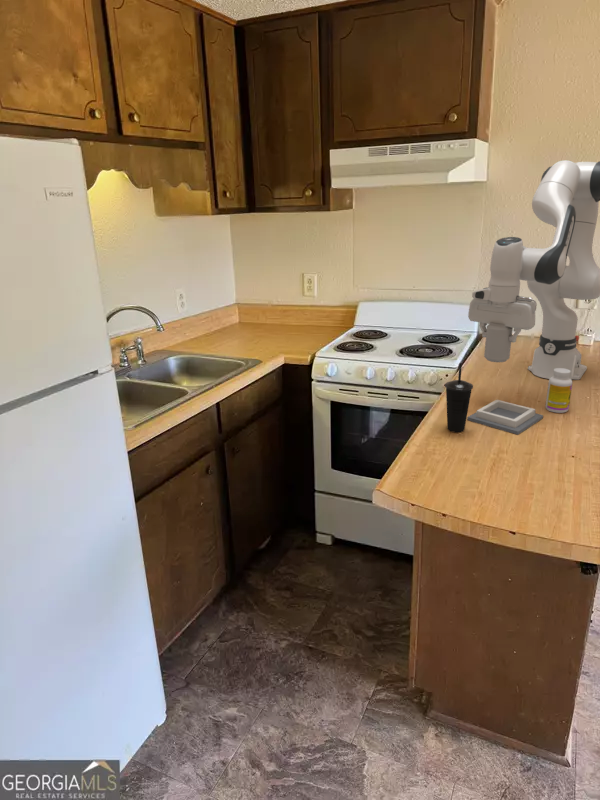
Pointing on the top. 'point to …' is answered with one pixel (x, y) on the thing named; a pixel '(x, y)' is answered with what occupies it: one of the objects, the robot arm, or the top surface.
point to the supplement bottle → (559, 391)
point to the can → (497, 342)
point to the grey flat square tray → (506, 416)
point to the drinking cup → (457, 403)
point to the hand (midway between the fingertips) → (498, 339)
